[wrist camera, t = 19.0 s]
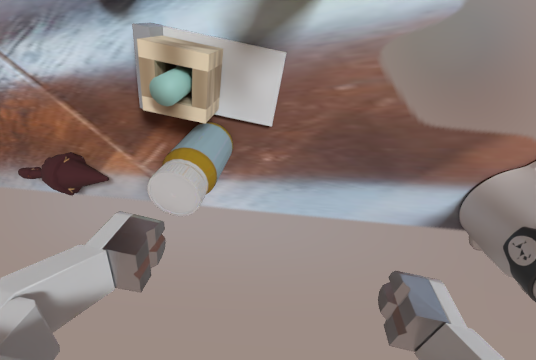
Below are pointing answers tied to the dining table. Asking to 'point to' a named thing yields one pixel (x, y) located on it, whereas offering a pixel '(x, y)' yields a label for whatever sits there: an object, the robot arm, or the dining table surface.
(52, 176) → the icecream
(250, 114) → the grey l-shaped tray
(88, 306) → the robot arm
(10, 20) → the dining table surface
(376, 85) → the dining table surface
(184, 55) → the block
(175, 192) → the bottle
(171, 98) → the dowel
